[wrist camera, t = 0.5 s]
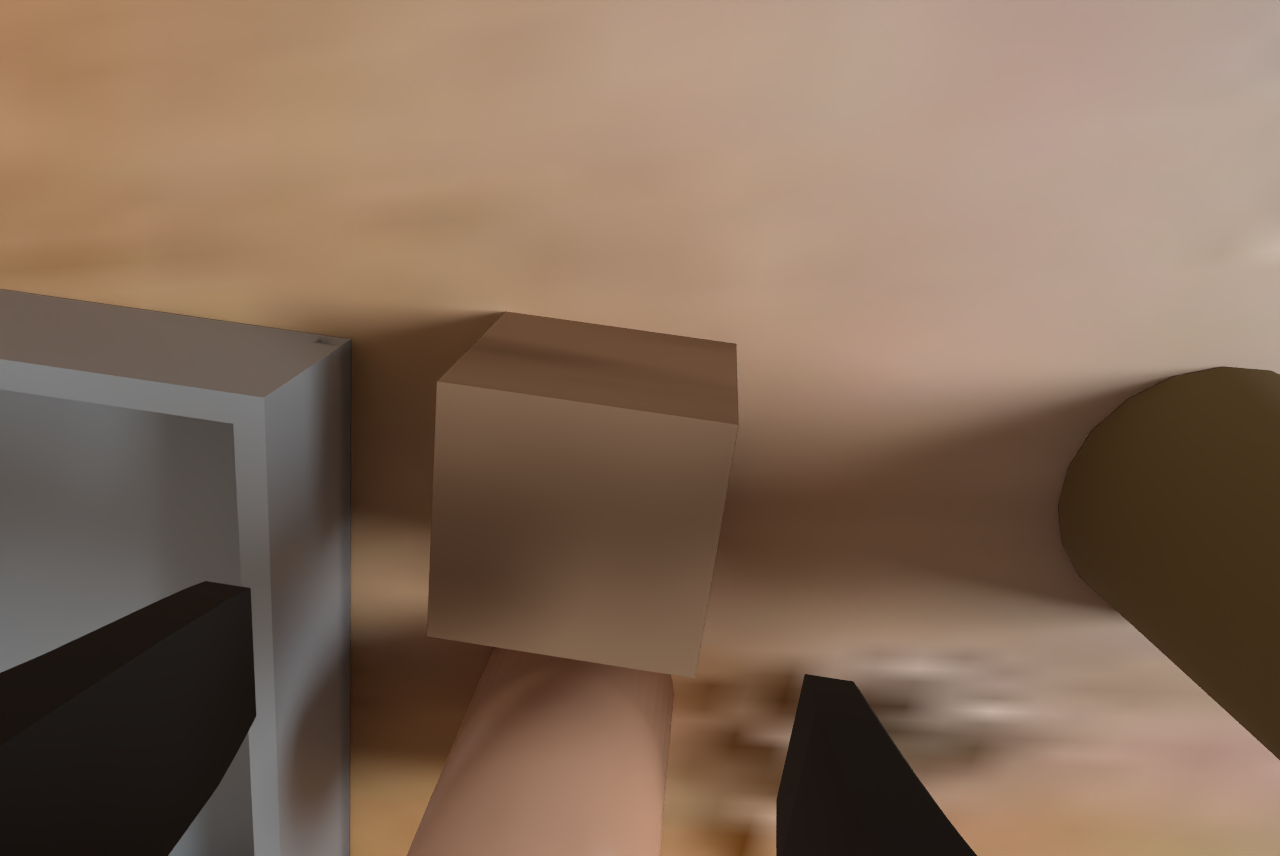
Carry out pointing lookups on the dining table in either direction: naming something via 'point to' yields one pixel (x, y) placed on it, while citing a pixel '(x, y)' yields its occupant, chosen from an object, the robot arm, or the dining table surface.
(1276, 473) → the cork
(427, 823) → the terracotta cylinder
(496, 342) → the walnut cube
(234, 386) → the tote
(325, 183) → the dining table surface
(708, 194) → the dining table surface
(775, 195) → the dining table surface
